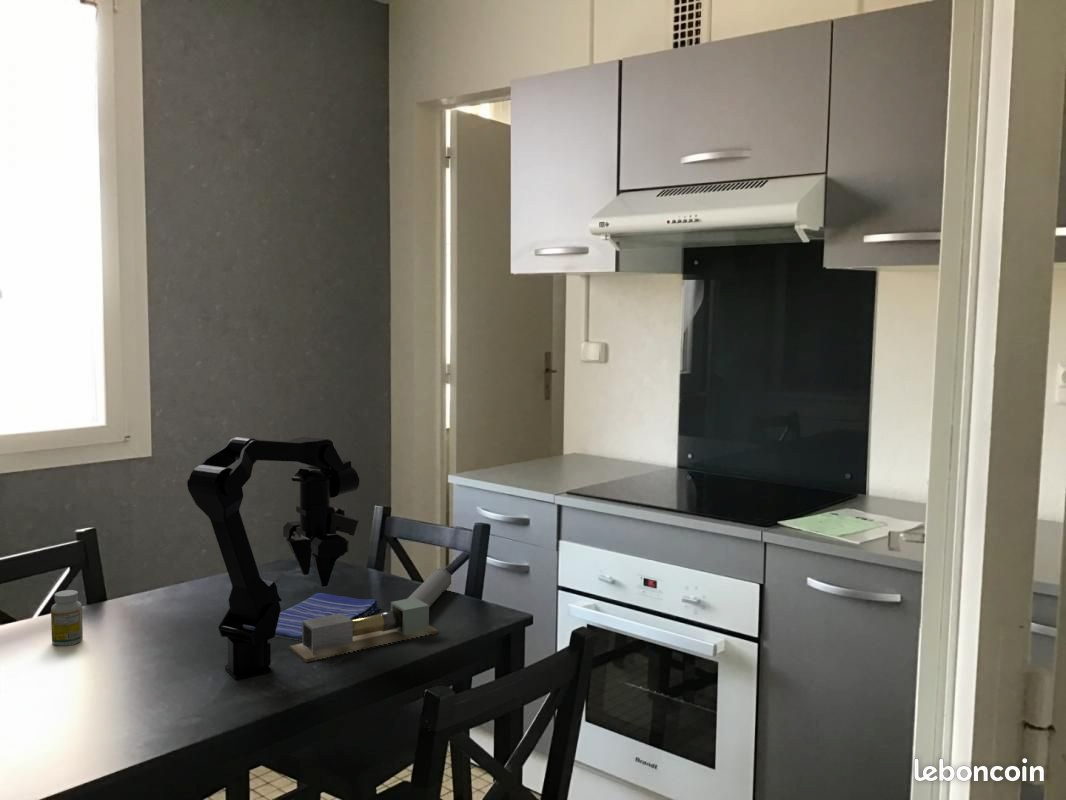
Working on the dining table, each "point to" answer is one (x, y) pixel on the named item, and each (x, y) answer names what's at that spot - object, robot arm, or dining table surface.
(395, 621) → the tube
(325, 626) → the sleeve
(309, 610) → the dish towel
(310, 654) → the mounting board
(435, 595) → the tube
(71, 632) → the supplement bottle
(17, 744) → the dining table surface
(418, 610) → the socket
